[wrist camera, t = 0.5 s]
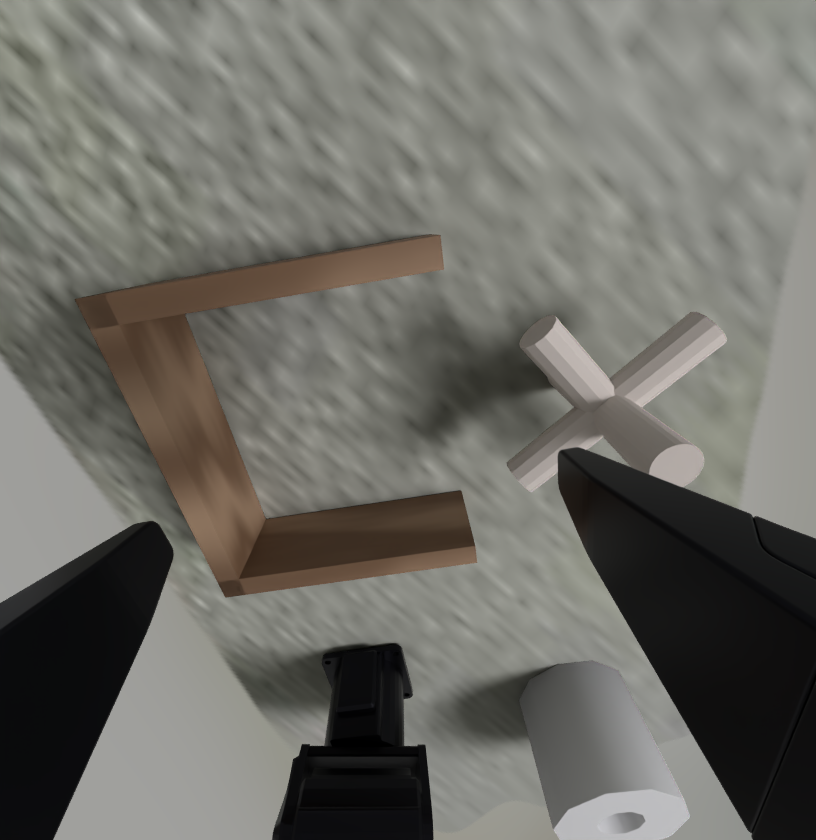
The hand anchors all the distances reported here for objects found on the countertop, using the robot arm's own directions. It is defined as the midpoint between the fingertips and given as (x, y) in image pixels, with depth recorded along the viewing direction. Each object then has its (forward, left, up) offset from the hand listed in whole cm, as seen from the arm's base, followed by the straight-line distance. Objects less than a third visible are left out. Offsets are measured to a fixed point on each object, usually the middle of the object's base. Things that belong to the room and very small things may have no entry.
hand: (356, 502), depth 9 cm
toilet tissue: (-35, -12, -14) cm, 40 cm away
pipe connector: (-3, -10, -14) cm, 18 cm away
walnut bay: (-3, +3, -14) cm, 15 cm away
